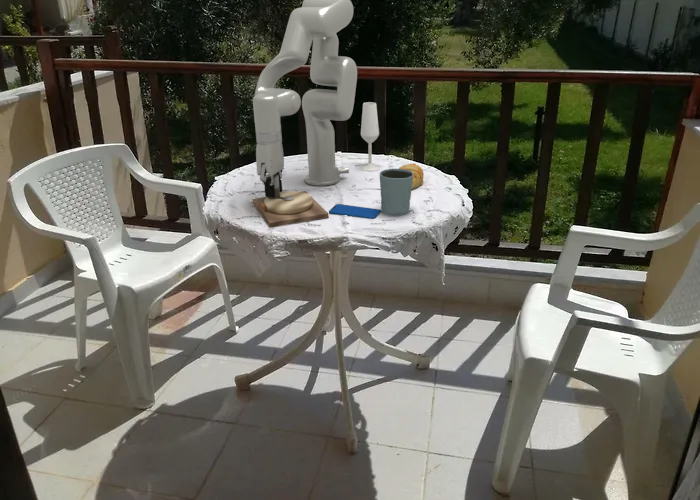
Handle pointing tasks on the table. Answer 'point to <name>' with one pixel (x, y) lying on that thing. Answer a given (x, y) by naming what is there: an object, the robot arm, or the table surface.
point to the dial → (287, 200)
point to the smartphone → (354, 211)
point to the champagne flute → (369, 131)
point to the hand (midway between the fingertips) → (273, 193)
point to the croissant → (417, 174)
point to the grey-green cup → (395, 191)
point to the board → (286, 219)
